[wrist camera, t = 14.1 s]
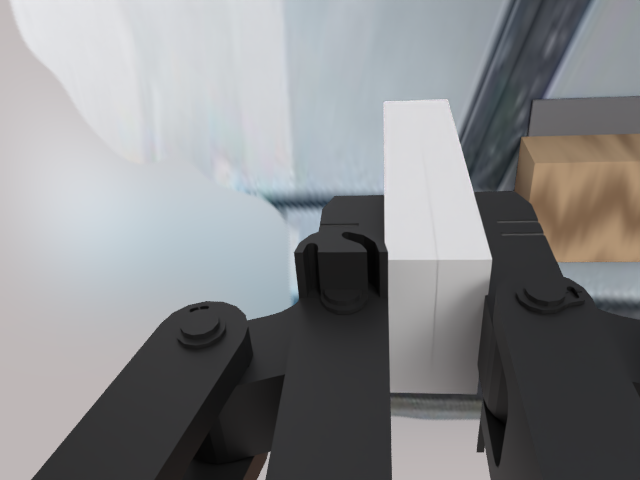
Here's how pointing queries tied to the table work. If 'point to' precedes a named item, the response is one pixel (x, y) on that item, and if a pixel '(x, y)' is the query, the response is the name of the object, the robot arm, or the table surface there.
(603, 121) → the mat
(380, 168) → the table surface
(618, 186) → the block
